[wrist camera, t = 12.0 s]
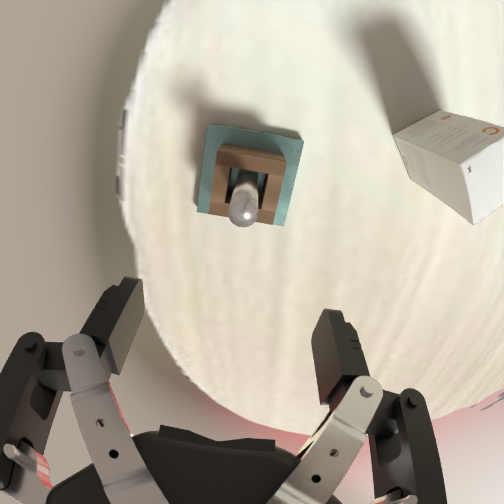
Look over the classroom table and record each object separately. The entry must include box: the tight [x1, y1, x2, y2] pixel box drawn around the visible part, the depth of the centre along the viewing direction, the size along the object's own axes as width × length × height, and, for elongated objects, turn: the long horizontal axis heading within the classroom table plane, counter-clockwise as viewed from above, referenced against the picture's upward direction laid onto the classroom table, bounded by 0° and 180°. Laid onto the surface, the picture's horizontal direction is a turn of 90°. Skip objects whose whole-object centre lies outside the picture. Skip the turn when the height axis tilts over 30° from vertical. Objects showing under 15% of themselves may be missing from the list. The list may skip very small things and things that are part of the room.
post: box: [197, 124, 304, 227], centre depth 26 cm, size 10×10×11 cm
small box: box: [393, 111, 504, 225], centre depth 22 cm, size 8×6×13 cm
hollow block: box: [208, 143, 287, 225], centre depth 28 cm, size 6×6×4 cm
